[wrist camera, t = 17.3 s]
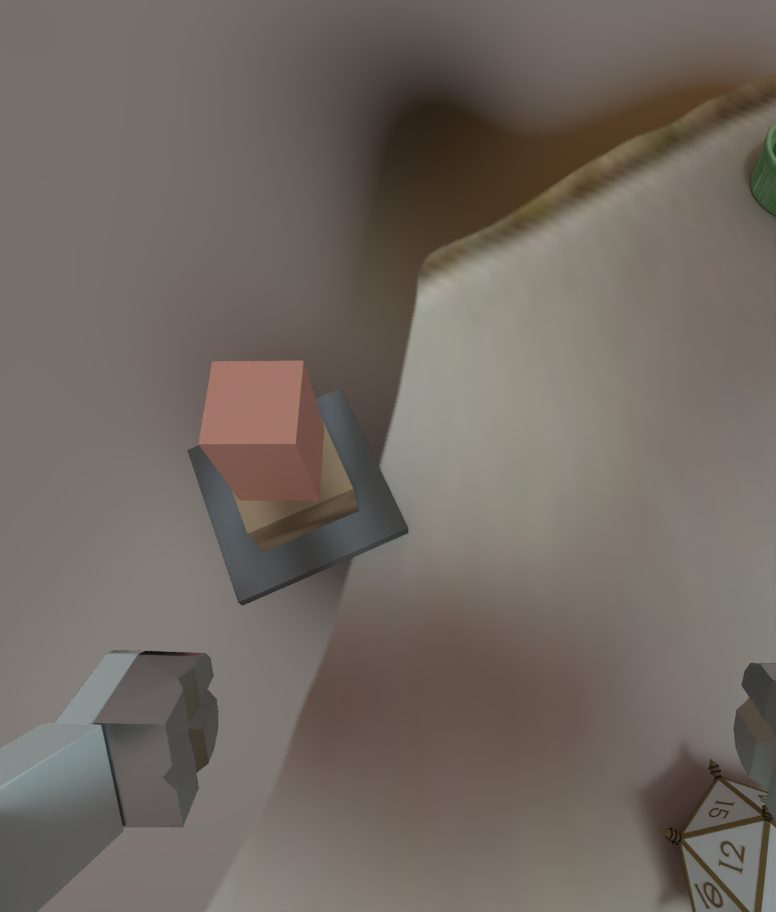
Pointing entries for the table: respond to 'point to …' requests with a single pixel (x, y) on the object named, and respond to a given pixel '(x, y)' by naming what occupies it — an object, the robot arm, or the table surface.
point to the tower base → (318, 543)
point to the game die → (729, 849)
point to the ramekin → (766, 174)
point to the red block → (264, 430)
